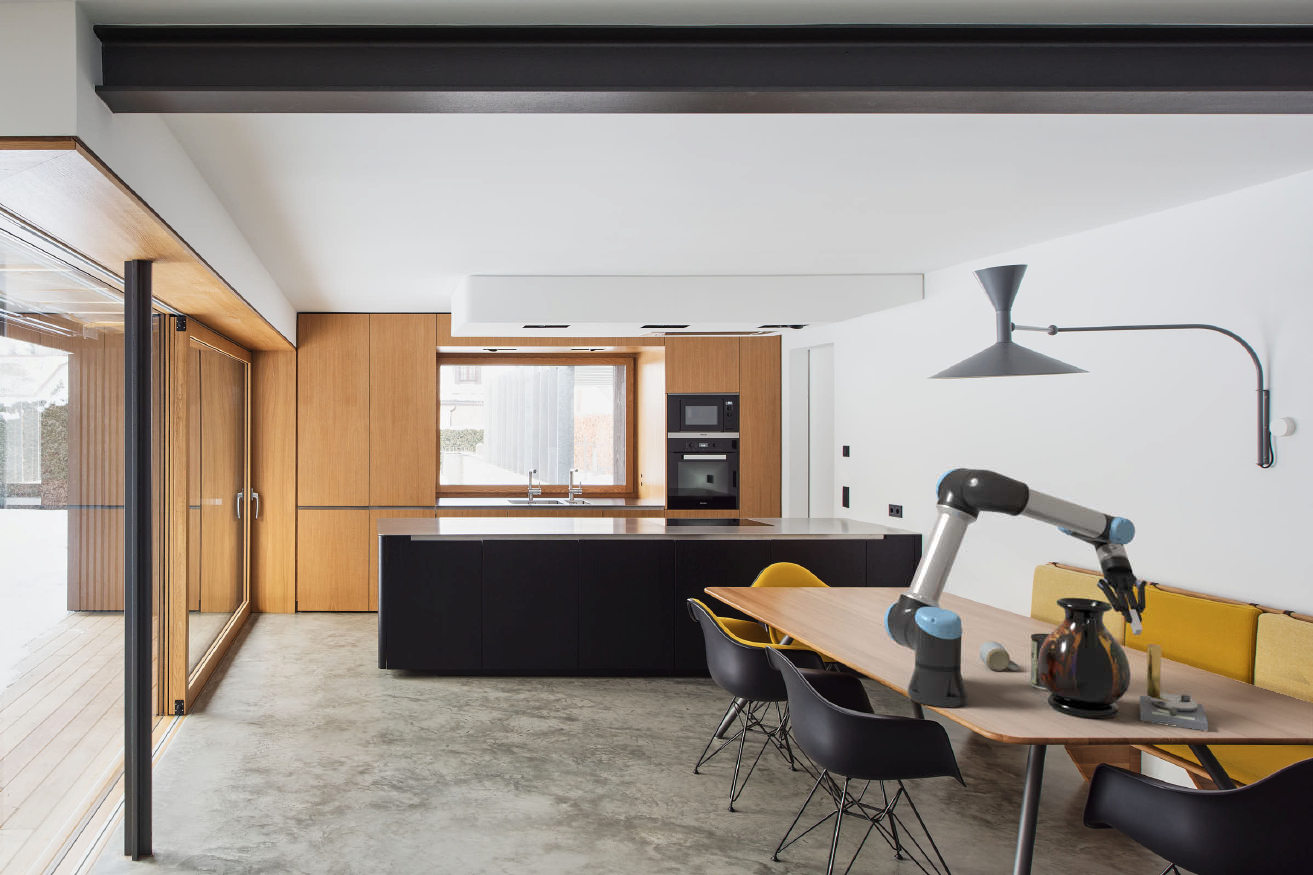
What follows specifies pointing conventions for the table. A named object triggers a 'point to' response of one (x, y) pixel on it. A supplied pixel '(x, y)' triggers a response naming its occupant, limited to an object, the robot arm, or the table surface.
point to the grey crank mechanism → (1172, 715)
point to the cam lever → (1154, 684)
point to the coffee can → (1036, 659)
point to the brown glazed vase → (1083, 662)
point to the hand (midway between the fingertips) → (1138, 632)
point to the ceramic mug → (996, 657)
